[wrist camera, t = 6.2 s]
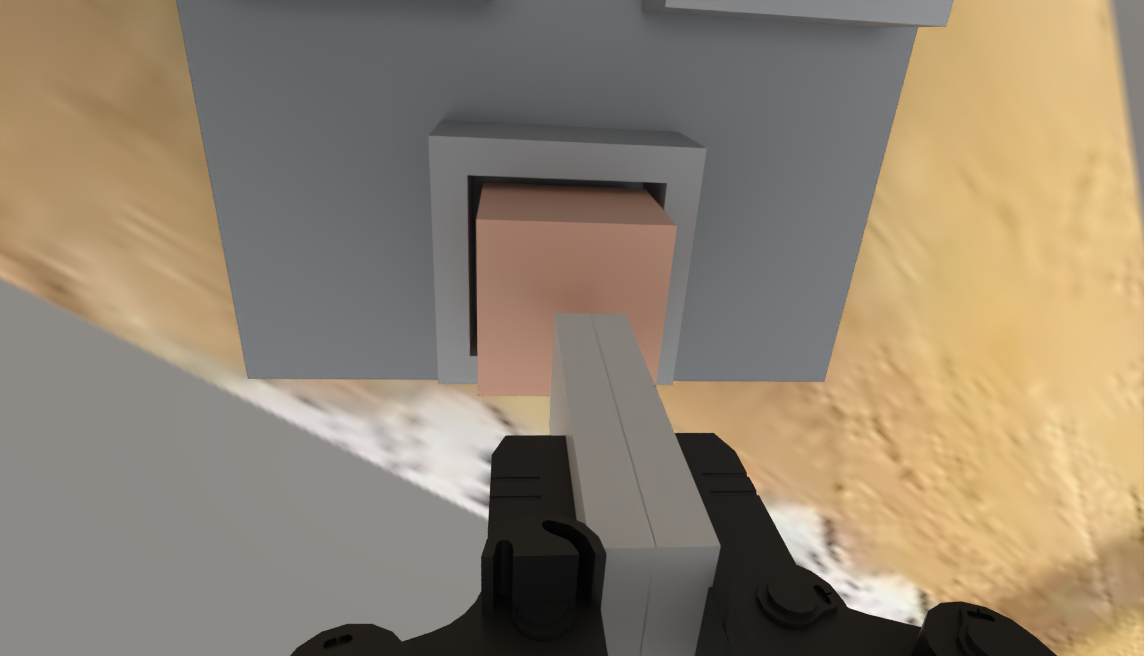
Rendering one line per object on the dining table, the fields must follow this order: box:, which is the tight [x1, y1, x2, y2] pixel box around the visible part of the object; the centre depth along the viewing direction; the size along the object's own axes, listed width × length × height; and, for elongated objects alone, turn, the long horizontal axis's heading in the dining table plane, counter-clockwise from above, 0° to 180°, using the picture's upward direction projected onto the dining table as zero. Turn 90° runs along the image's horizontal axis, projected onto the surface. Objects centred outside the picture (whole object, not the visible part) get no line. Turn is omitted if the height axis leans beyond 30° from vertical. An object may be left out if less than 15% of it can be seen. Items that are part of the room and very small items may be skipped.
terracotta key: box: [476, 183, 677, 396], centre depth 17 cm, size 5×5×4 cm
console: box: [176, 0, 953, 385], centre depth 18 cm, size 22×22×4 cm
